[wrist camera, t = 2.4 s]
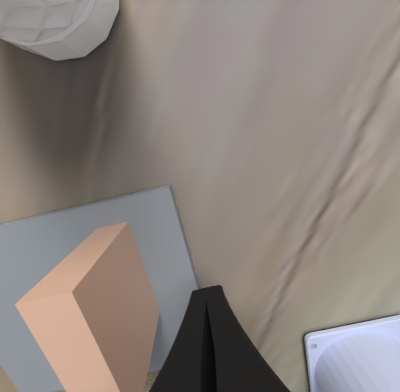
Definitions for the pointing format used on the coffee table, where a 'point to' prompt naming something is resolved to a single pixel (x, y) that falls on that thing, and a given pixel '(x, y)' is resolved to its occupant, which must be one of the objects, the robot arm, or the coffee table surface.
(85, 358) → the block
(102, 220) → the felt mat
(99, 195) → the coffee table surface
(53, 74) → the coffee table surface
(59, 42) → the white cup
